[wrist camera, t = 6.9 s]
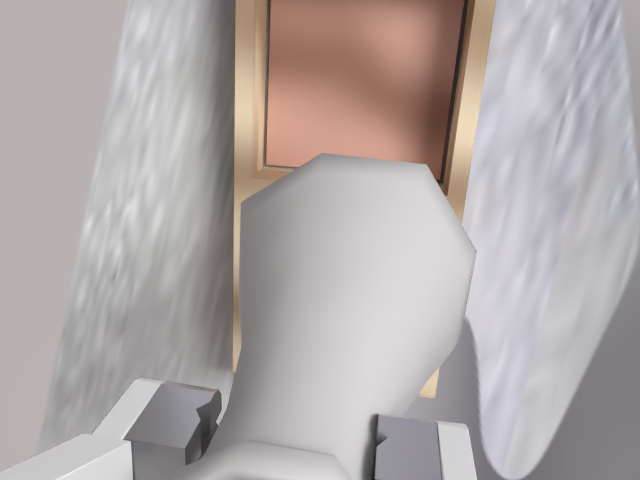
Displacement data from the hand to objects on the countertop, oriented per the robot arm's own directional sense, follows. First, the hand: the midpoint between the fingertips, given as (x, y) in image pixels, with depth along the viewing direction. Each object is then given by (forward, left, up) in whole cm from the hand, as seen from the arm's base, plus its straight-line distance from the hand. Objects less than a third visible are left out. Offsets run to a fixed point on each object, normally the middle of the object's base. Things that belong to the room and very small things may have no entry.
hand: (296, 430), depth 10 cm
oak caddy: (0, +1, -19) cm, 19 cm away
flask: (0, 0, -8) cm, 8 cm away
